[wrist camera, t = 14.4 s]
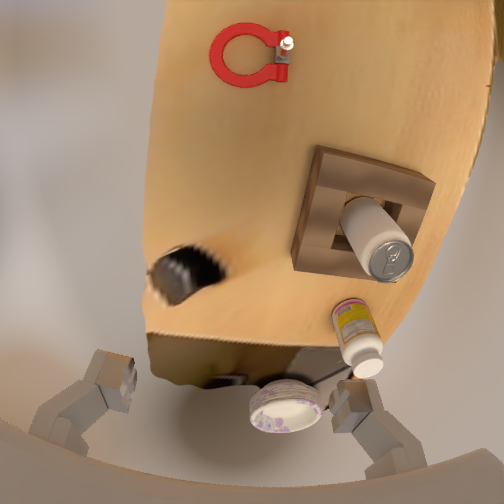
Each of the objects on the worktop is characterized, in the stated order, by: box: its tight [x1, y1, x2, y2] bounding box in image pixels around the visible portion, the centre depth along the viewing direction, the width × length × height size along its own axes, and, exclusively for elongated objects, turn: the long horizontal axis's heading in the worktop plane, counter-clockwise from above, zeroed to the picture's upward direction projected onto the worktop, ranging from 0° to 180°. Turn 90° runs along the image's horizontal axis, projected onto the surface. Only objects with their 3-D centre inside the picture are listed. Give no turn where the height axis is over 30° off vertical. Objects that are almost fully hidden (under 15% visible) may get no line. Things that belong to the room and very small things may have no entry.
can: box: [340, 197, 414, 283], centre depth 36 cm, size 6×6×12 cm
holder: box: [291, 145, 436, 283], centre depth 39 cm, size 16×16×4 cm
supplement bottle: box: [332, 299, 383, 378], centre depth 45 cm, size 7×7×13 cm
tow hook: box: [210, 23, 294, 87], centre depth 25 cm, size 8×13×9 cm
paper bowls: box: [250, 379, 322, 433], centre depth 59 cm, size 15×15×8 cm
